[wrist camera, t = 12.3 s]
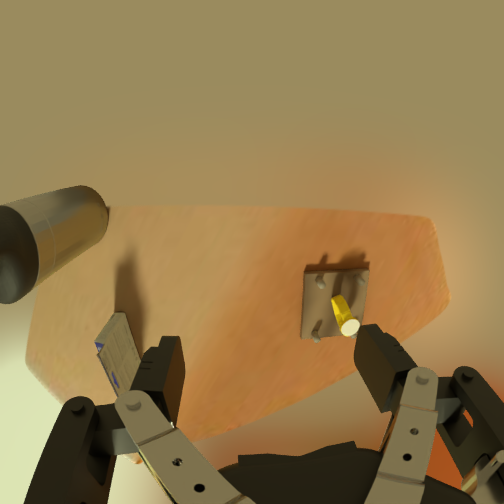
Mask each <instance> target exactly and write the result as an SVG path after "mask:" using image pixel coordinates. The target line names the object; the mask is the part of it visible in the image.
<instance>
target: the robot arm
mask: <svg viewBox="0 0 504 504" xmlns="http://www.w3.org/2000/svg"><path fill="white" fill-rule="evenodd" d="M107 224H108V213H107V208H106V205H105V203H104V201H103V199H102V198H101V196H100V195H99V194H98V193H97V192H96V191H95V190H93V189H92V188H90V187H87V186H81V185H80V186H75V187H70V188H65V189H60V190H56V191H52V192H48V193H44V194H40V195H36V196H32V197H28V198H24V199H21V200H17V201H14V202H10V203H7V204H4V205H0V303H2V304H11V303H14V302H16V301H18V300H20V299H21V298H22V297H24V296H25V295H26V294H27V293H29V292H30V291H31V290H33V289H34V288H35V287H36V286H38V285H39V284H40V283H42V282H43V281H44V280H45V279H47V278H48V277H50V276H51V275H52V274H54V273H55V272H56V271H58V270H59V269H60V268H62V267H63V266H65V265H66V264H67V263H69V262H70V261H72V260H73V259H74V258H76V257H77V256H79V255H80V254H82V253H83V252H85V251H86V250H88V249H89V248H91V247H92V246H93V245H95V244H96V243H98V242H99V241H100V240H101V239H102V237H103V236H104V234H105V231H106V229H107ZM354 362H355V365H356V367H357V369H358V371H359V373H360V375H361V376H362V378H363V380H364V382H365V384H366V385H367V387H368V389H369V391H370V393H371V395H372V397H373V399H374V400H375V402H376V404H377V406H378V408H379V410H380V412H381V413H383V412H387V411H391V412H392V416H391V418H390V421H389V424H388V426H387V429H386V432H385V435H384V437H383V440H382V443H381V445H380V448H379V450H378V451H375V450H372V449H366V448H357V447H356V445H355V442H354V441H350V442H346V443H341V444H336V445H331V446H326V447H324V448H321V449H319V450H316V451H314V452H311V453H308V454H305V455H302V456H287V455H276V454H254V455H238V463H235V464H232V465H229V466H226V467H224V468H221V469H219V470H216V469H215V468H214V467H213V466H212V465H211V464H210V463H209V462H208V461H207V460H206V459H205V457H203V455H202V454H201V453H200V452H199V451H198V450H197V449H196V448H195V447H194V445H193V444H192V443H191V442H190V441H189V440H188V438H187V437H186V436H185V435H184V434H183V433H182V431H181V430H180V429H179V428H177V427H176V423H177V417H178V412H179V406H180V401H181V395H182V390H183V384H184V379H185V362H184V357H183V351H182V346H181V340H180V337H179V336H162V338H161V340H160V343H159V346H158V347H150V348H149V349H148V350H147V351H146V352H145V353H144V355H143V357H142V360H141V363H140V364H139V367H138V369H137V372H136V375H135V377H134V380H133V382H132V385H131V387H130V390H129V391H127V392H125V393H123V394H121V395H120V396H119V397H118V398H117V399H116V401H115V403H113V404H107V405H98V406H95V405H94V403H93V401H92V400H91V399H89V398H87V397H83V396H78V397H74V398H71V399H69V400H68V401H67V402H66V403H65V404H64V405H63V407H62V409H61V411H60V413H59V415H58V418H57V420H56V422H55V424H54V426H53V429H52V431H51V433H50V436H49V438H48V440H47V442H46V445H45V447H44V450H43V452H42V455H41V457H40V460H39V462H38V465H37V467H36V470H35V472H34V475H33V478H32V481H31V484H30V486H29V489H28V492H27V495H26V498H25V501H24V504H107V503H108V497H109V492H110V487H111V482H112V477H113V472H114V467H115V463H116V458H117V455H121V454H129V453H136V452H137V453H138V454H139V456H140V457H141V459H142V460H143V462H144V463H145V465H146V466H147V468H148V470H149V471H150V473H151V474H152V475H153V477H154V478H155V480H156V481H157V483H158V484H159V486H160V487H161V488H162V490H163V491H164V493H165V494H166V496H167V497H168V498H169V500H170V501H171V502H172V504H504V403H503V402H502V401H501V399H500V398H499V397H498V395H497V394H496V393H495V392H494V391H493V389H492V388H491V387H490V386H489V384H488V383H487V382H486V381H485V380H484V378H483V377H482V376H481V375H480V374H479V373H478V372H477V371H476V370H475V369H473V368H471V367H467V366H461V367H458V368H457V369H456V370H455V371H454V374H453V376H452V377H438V376H437V375H436V373H435V372H434V371H432V370H430V369H428V368H425V367H418V366H417V365H416V363H415V362H414V361H413V360H412V358H411V357H410V356H409V355H408V353H407V352H406V351H404V349H403V347H402V346H400V343H399V342H398V341H397V340H396V339H395V338H394V337H393V336H391V335H390V334H388V333H383V332H382V330H381V329H380V328H379V327H378V325H377V324H369V325H361V326H360V327H359V329H358V334H357V339H356V345H355V350H354ZM465 410H467V411H468V413H469V414H470V416H471V417H472V419H473V428H472V427H471V425H470V424H469V422H468V420H467V419H466V417H465V416H464V415H463V413H464V411H465ZM435 429H437V431H438V432H439V434H440V436H441V437H442V440H443V441H444V443H445V445H446V447H447V449H448V451H449V452H450V454H451V456H452V458H453V460H454V462H455V464H456V466H457V468H458V469H459V472H460V474H461V476H462V478H463V480H462V483H461V488H462V490H459V489H457V488H455V487H452V486H450V485H448V484H445V483H443V482H441V481H438V480H436V479H434V478H432V477H430V476H428V475H425V474H426V470H427V466H428V463H429V458H430V454H431V449H432V445H433V440H434V435H435Z"/></svg>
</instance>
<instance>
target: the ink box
mask: <svg viewBox="0 0 504 504" xmlns="http://www.w3.org/2000/svg"><path fill="white" fill-rule="evenodd" d="M94 342H95V344H96V347H97V349H98V352H99V353H98V354H97V357H98V358H99V360H100V362H101V364H102V366H103V368H104V370H105V373H106V375H107V377H108V379H109V381H110V383H111V385H112V387H113V389H114V391H115V394H116V396H117V398H118V397H119V396H120V395H121V394H123V393H125V392H127V391H129V390H130V387H131V385H132V382H133V380H134V377H135V375H136V372H137V369H138V367H139V364H140V363H141V360H140V357H139V354H138V352H137V349H136V346H135V343H134V340H133V337H132V334H131V331H130V328H129V325H128V321H127V318H126V315H125V313H124V312H115V313H113V315H112V316H111V318H110V319H109V321H108V322H107V324H106V325H105V326H104V328H103V329H102V331H101V332H100V334H99V335H98V337H97V338H96V339H95V341H94Z"/></svg>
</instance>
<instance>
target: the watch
mask: <svg viewBox="0 0 504 504" xmlns="http://www.w3.org/2000/svg"><path fill="white" fill-rule="evenodd" d="M331 302H332V306H333V310H334V314H335V317H336V320H337V322H338V325H339V327H340V331H341V333H342V334H343V335H344V336H346V337H347V336H351V335H353V334H355V333H356V332H357V331H358V329H359V327H360V323H359V321H358V320H357V319H356V318H355V317H352V314H351V311H350V309H349V307H348V305H347V303H346V301H345V299H344V298H343V296H341V295H338V296H335V297H333V298H332V299H331Z"/></svg>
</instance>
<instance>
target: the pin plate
mask: <svg viewBox="0 0 504 504" xmlns="http://www.w3.org/2000/svg"><path fill="white" fill-rule="evenodd" d="M369 271H370V270H369V269H367V268H360V269H343V270H325V271H305V272H304V278H303V298H302V315H301V330H300V337H301V339H312V338H313V340H314V342H315V343H318V342H320V340H321V339H320V338H322V337H332V336H340V335H343V334H342V333H341V331H340V327H339V325H338V322H337V320H336V317H335V314H334V310H333V306H332V302H331V299H332V298H333V297H335V296H338V295H341V296H343V298H344V299H345V301H346V303H347V305H348V307H349V309H350V311H351V314H352V317H355V318H356V319H357V320H358V321H359V323H360V326H361V325H362V319H363V313H364V307H365V301H366V294H367V287H368V279H369ZM357 333H358V331H357V332H356V333H355V334H353V335H351V338H353V339H354V338H356V337H357Z"/></svg>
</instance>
